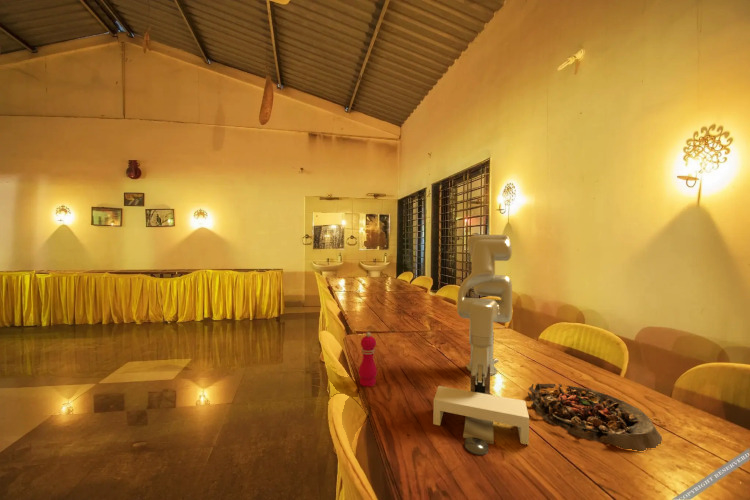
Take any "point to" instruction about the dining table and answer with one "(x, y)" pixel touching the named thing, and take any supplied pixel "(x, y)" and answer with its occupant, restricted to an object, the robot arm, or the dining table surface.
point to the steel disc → (476, 446)
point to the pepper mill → (368, 361)
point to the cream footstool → (482, 408)
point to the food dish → (595, 416)
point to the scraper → (479, 426)
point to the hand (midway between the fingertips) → (479, 393)
